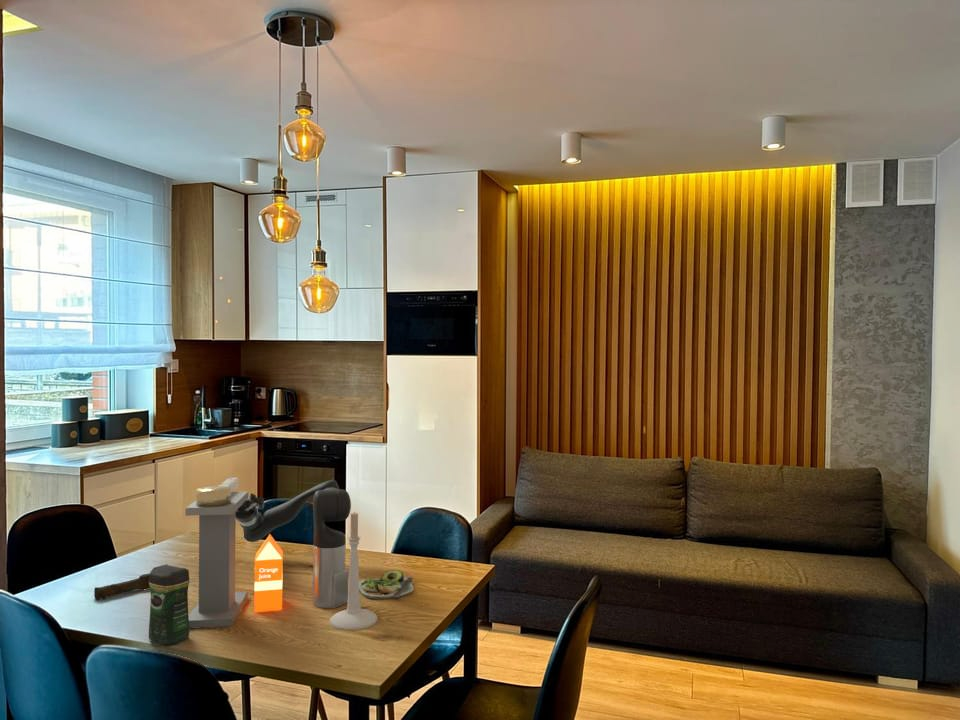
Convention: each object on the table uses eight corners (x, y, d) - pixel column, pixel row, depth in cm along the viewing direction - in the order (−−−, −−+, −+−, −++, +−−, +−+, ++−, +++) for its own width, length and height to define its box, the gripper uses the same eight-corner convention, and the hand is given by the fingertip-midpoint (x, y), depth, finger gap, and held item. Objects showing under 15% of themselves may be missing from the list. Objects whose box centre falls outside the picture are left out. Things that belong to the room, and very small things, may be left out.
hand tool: (97, 602, 202) (97, 586, 202) (93, 599, 205) (93, 583, 205) (163, 588, 216) (163, 573, 216) (158, 584, 218) (158, 570, 218)
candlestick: (326, 615, 192) (327, 508, 192) (371, 610, 196) (372, 505, 197) (333, 632, 180) (334, 518, 180) (381, 626, 184) (382, 515, 185)
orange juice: (253, 612, 194) (254, 541, 194) (255, 601, 203) (255, 534, 203) (282, 609, 196) (283, 540, 196) (282, 599, 205) (283, 532, 205)
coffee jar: (195, 637, 176) (195, 565, 176) (167, 648, 169) (168, 573, 169) (170, 630, 181) (170, 559, 181) (142, 640, 174) (143, 567, 174)
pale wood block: (218, 486, 213) (218, 473, 213) (248, 486, 215) (248, 473, 215) (191, 507, 183) (192, 492, 183) (227, 506, 184) (227, 491, 184)
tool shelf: (205, 599, 204) (206, 492, 204) (247, 598, 206) (248, 491, 206) (184, 628, 182) (185, 508, 182) (231, 626, 184) (232, 506, 184)
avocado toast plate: (423, 599, 206) (423, 584, 206) (363, 605, 201) (363, 590, 201) (410, 580, 225) (410, 566, 225) (355, 585, 219) (355, 570, 219)
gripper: (266, 522, 234) (259, 507, 220) (222, 523, 232) (213, 508, 218) (268, 501, 237) (261, 484, 224) (225, 502, 235) (216, 485, 222)
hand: (237, 496), depth 221 cm, fingers open, 8 cm apart
